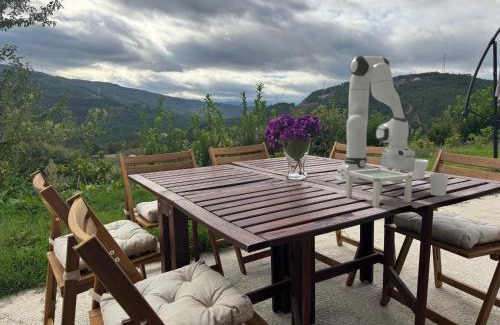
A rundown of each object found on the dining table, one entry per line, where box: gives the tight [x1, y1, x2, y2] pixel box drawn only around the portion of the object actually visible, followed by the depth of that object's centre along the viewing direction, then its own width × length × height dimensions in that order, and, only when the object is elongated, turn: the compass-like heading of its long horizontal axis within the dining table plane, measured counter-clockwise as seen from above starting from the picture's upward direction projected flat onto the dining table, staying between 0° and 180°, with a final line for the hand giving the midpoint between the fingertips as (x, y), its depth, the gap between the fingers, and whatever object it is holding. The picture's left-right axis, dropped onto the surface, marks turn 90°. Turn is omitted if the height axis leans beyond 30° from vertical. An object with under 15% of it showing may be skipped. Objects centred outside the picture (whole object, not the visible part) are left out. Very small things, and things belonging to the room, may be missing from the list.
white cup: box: [429, 172, 449, 197], centre depth 185 cm, size 8×8×10 cm
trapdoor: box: [358, 171, 397, 181], centre depth 175 cm, size 14×14×3 cm
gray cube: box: [389, 170, 404, 184], centre depth 188 cm, size 5×5×5 cm
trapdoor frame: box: [345, 168, 413, 208], centre depth 175 cm, size 21×20×13 cm
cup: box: [407, 158, 429, 180], centre depth 227 cm, size 12×12×11 cm
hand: (395, 177), depth 188 cm, fingers closed on gray cube, 5 cm apart
